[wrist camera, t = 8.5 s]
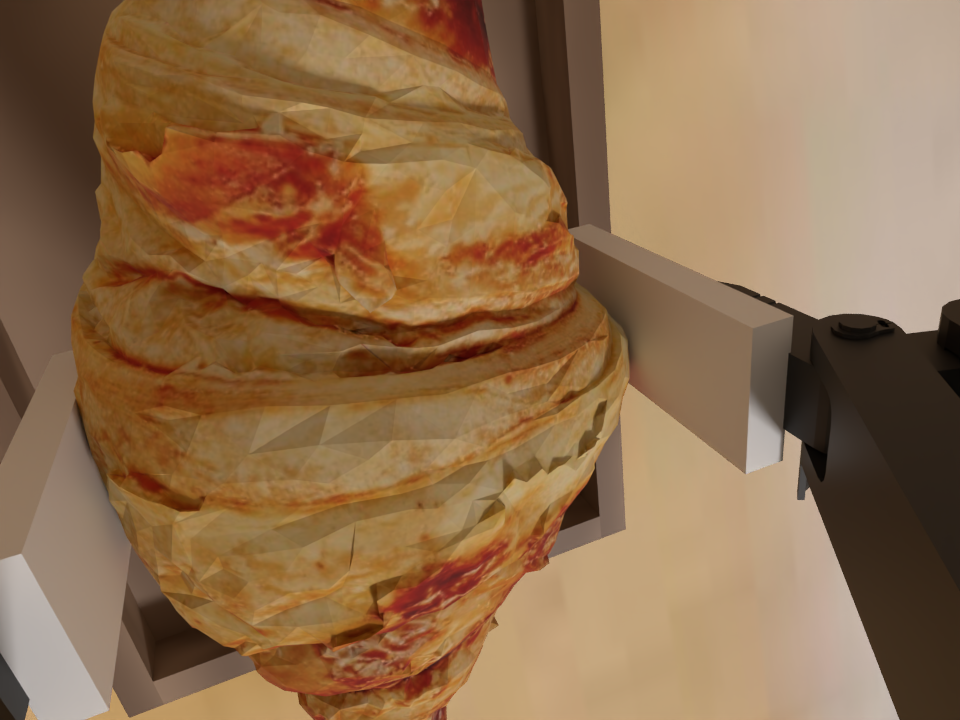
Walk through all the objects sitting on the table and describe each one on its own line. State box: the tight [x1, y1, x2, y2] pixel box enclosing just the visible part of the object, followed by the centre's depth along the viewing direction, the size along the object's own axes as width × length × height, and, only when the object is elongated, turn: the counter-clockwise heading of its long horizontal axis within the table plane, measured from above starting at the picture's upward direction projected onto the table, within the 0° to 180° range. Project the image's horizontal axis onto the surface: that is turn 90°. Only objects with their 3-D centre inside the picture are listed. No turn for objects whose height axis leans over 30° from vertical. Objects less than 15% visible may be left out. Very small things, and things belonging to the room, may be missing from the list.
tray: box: [0, 0, 626, 718], centre depth 22 cm, size 20×29×3 cm
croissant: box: [71, 0, 630, 720], centre depth 13 cm, size 21×10×8 cm, turn 2°
